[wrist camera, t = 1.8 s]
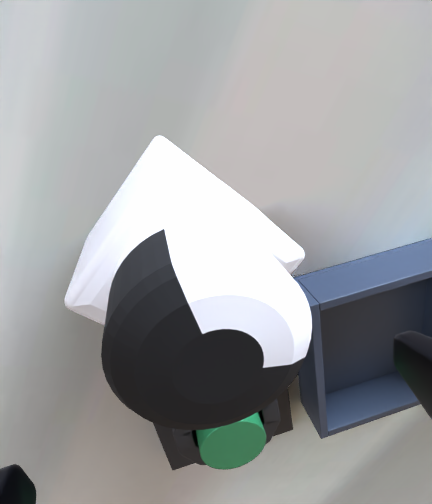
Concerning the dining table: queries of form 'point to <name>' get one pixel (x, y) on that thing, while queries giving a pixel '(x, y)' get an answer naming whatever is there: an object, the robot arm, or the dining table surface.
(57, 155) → the dining table surface
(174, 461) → the control panel
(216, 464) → the button
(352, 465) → the dining table surface
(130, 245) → the medicine bottle
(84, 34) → the dining table surface
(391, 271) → the blue-grey tray
